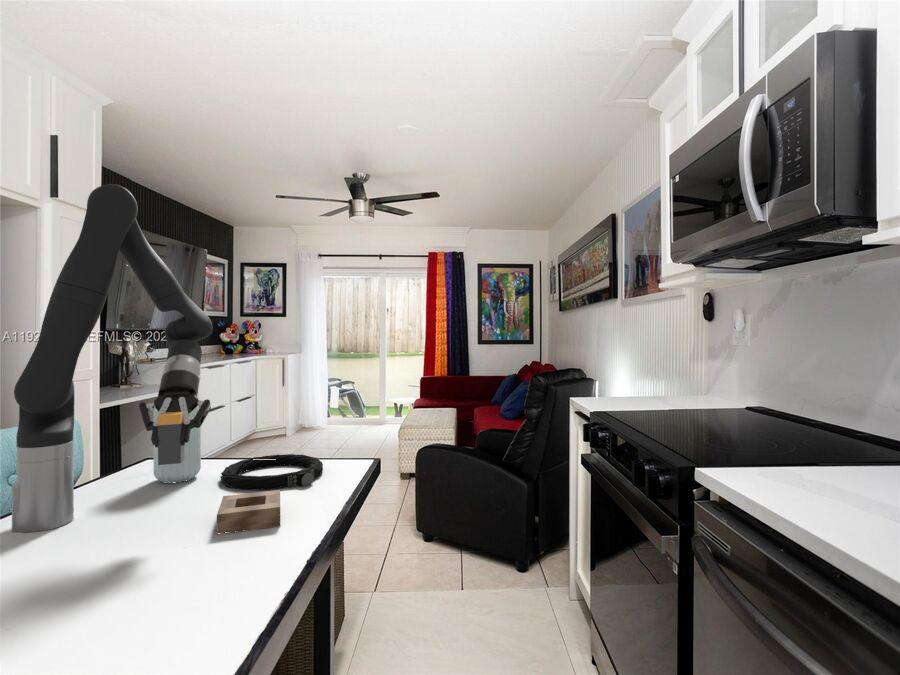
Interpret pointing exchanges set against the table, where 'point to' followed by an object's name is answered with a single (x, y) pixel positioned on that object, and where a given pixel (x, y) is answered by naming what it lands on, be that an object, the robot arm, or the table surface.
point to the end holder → (249, 511)
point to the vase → (191, 457)
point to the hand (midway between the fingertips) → (169, 443)
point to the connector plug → (170, 438)
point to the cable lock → (272, 481)
